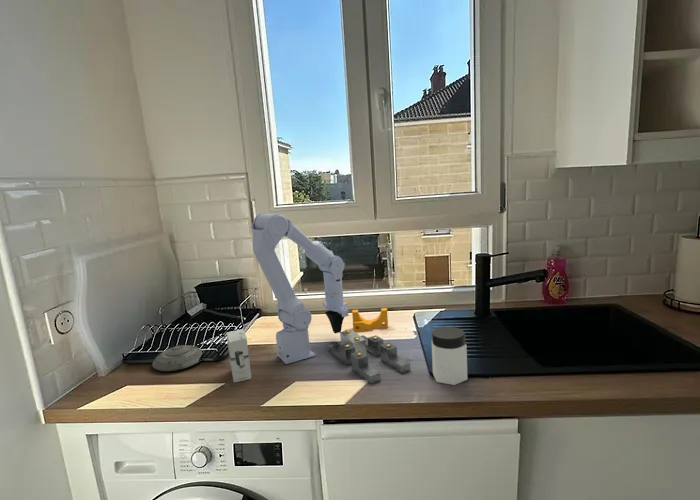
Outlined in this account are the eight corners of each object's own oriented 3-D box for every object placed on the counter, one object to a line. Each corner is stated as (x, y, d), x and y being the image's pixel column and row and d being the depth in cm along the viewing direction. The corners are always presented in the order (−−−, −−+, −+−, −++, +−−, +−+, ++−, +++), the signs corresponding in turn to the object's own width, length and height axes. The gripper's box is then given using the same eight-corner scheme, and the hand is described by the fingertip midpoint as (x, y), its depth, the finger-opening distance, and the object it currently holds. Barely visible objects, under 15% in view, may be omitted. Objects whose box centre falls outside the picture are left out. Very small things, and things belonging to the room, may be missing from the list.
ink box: (230, 370, 120) (225, 331, 118) (247, 366, 122) (243, 328, 120) (233, 383, 112) (228, 342, 110) (252, 379, 114) (247, 338, 112)
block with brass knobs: (354, 359, 122) (352, 341, 121) (341, 347, 131) (339, 330, 130) (366, 355, 123) (365, 338, 122) (352, 344, 132) (351, 327, 131)
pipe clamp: (353, 332, 143) (352, 314, 142) (353, 327, 147) (352, 309, 146) (388, 330, 142) (387, 312, 141) (387, 325, 146) (386, 308, 145)
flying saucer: (207, 350, 137) (205, 334, 136) (202, 370, 122) (199, 352, 121) (159, 357, 134) (156, 341, 133) (147, 378, 119) (144, 360, 118)
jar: (427, 381, 106) (425, 336, 103) (437, 367, 112) (436, 325, 110) (463, 387, 101) (461, 341, 99) (471, 373, 108) (470, 329, 106)
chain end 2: (370, 383, 106) (369, 365, 105) (351, 369, 115) (350, 352, 114) (410, 370, 112) (409, 352, 111) (389, 357, 121) (388, 341, 120)
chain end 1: (346, 365, 118) (345, 348, 117) (328, 351, 128) (327, 336, 127) (384, 353, 123) (383, 338, 123) (363, 341, 134) (362, 326, 133)
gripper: (355, 294, 129) (358, 335, 131) (334, 285, 142) (338, 323, 144) (335, 298, 126) (338, 341, 128) (315, 289, 138) (319, 328, 141)
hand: (337, 332), depth 136 cm, fingers closed
